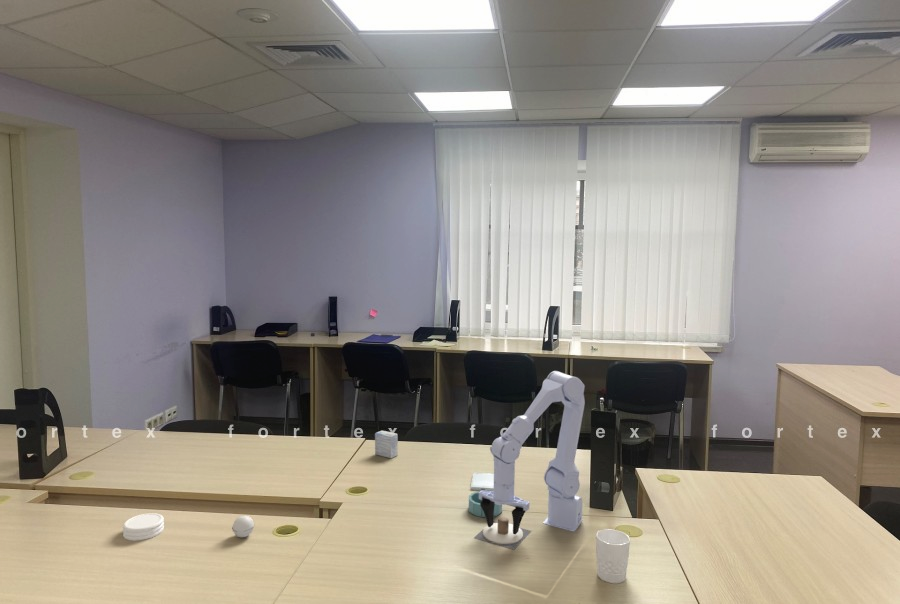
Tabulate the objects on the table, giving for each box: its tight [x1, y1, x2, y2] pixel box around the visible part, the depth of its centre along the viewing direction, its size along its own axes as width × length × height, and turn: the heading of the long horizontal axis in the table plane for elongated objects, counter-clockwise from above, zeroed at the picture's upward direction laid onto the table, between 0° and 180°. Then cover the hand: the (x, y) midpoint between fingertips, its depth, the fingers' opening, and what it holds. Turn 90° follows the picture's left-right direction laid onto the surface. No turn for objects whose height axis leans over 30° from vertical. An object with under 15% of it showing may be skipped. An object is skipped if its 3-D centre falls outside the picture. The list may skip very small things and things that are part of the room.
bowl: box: [468, 490, 503, 518], centre depth 174 cm, size 10×10×4 cm
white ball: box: [231, 515, 255, 538], centre depth 156 cm, size 8×6×6 cm
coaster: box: [122, 512, 165, 542], centre depth 158 cm, size 10×10×4 cm
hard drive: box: [470, 472, 494, 492], centre depth 195 cm, size 2×8×12 cm
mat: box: [473, 520, 532, 551], centre depth 159 cm, size 12×12×1 cm
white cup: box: [595, 528, 631, 584], centre depth 140 cm, size 8×8×10 cm
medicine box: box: [374, 430, 399, 459], centre depth 220 cm, size 8×4×9 cm, turn 58°
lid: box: [482, 516, 523, 544], centre depth 159 cm, size 11×11×4 cm
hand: (503, 529), depth 159 cm, fingers open, 7 cm apart
